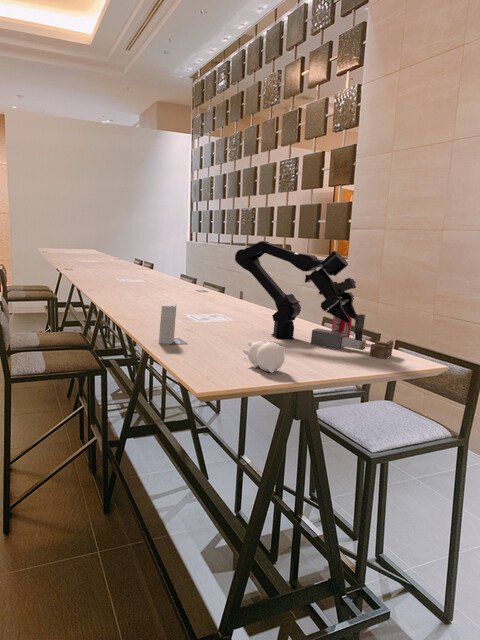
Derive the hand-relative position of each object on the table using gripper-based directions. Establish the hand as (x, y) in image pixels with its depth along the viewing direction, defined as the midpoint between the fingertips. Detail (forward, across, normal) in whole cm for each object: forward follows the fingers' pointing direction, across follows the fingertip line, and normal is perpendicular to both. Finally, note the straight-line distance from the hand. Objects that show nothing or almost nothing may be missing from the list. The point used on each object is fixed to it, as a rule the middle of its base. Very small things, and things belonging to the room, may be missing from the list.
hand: (352, 320), depth 161 cm
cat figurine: (0, -43, +14) cm, 46 cm away
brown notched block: (+15, 0, 0) cm, 15 cm away
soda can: (+1, +18, +14) cm, 22 cm away
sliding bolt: (+4, 0, +9) cm, 10 cm away
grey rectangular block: (+1, 0, +13) cm, 13 cm away
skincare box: (-27, -39, +41) cm, 62 cm away
